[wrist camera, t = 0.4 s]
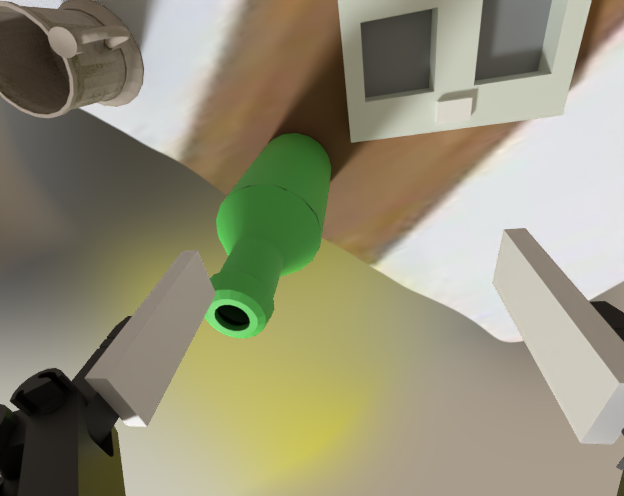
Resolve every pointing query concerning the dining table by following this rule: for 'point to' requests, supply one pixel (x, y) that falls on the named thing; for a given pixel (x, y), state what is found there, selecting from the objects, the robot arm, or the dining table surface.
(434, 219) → the dining table surface
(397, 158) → the dining table surface
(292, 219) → the bottle
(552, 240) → the dining table surface
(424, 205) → the dining table surface
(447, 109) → the socket plate
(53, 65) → the mug
